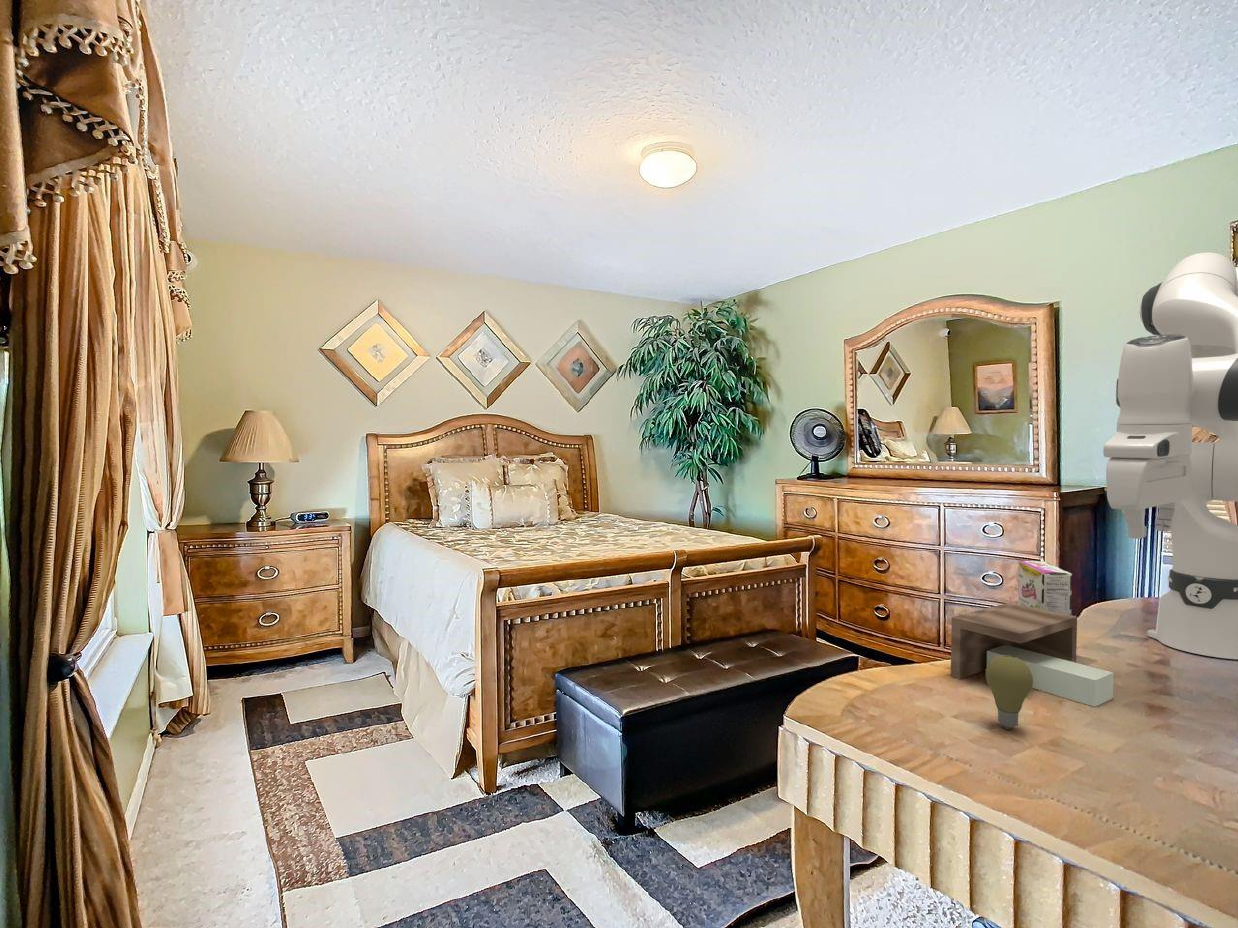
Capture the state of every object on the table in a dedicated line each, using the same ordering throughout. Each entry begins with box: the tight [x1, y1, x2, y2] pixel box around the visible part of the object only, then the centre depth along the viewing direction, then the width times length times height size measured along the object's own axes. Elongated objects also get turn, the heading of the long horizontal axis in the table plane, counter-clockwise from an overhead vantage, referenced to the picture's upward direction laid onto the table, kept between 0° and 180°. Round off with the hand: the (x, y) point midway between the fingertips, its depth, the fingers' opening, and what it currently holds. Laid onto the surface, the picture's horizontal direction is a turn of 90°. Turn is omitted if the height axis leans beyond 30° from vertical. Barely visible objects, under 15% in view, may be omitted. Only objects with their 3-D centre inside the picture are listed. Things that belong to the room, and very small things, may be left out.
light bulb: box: [985, 655, 1033, 730], centre depth 90 cm, size 6×6×10 cm
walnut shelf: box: [950, 602, 1078, 680], centre depth 109 cm, size 18×11×10 cm, turn 122°
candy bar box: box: [1017, 560, 1073, 615], centre depth 120 cm, size 11×5×16 cm, turn 168°
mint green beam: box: [987, 645, 1115, 708], centre depth 105 cm, size 6×16×4 cm, turn 32°
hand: (1150, 534), depth 99 cm, fingers open, 8 cm apart
